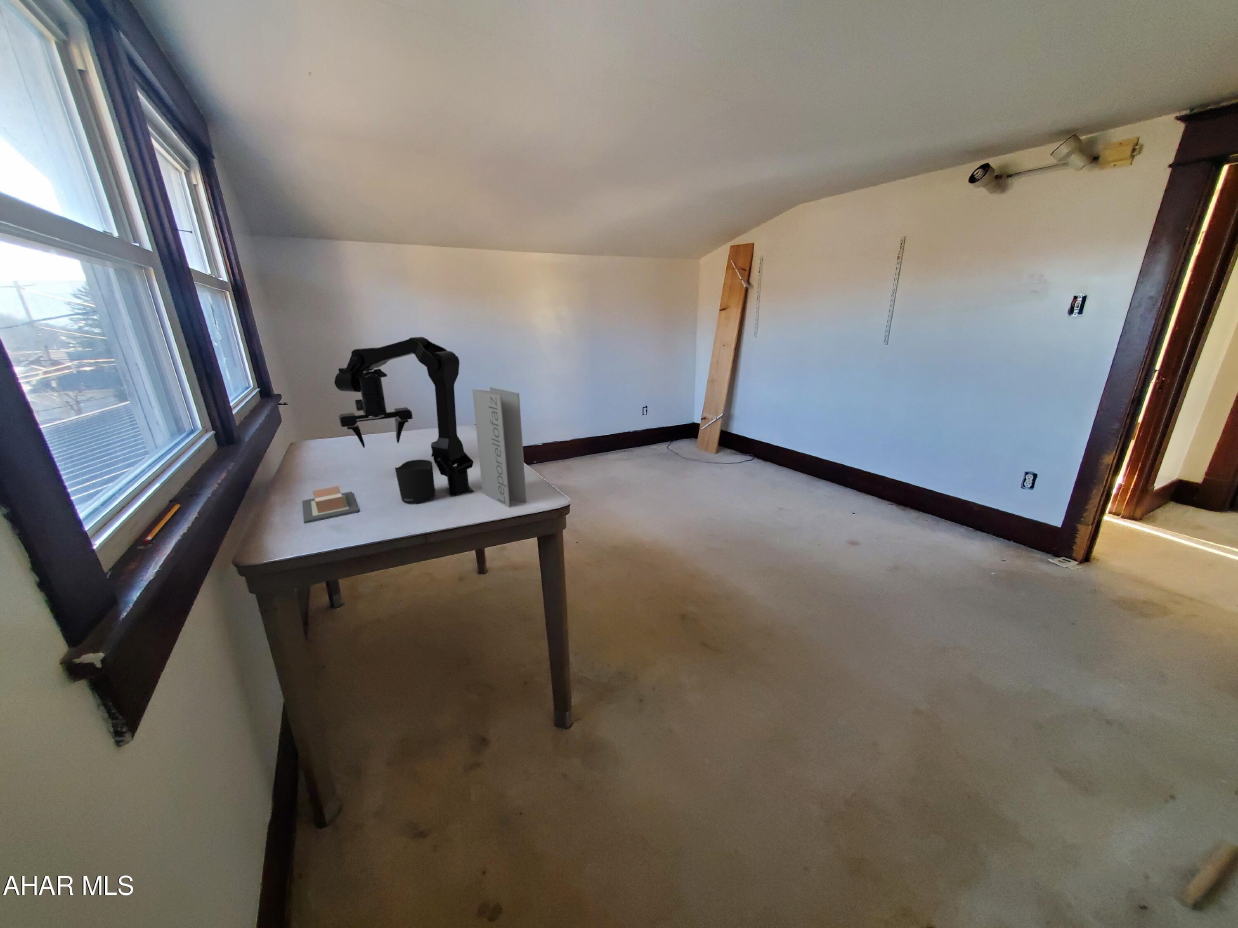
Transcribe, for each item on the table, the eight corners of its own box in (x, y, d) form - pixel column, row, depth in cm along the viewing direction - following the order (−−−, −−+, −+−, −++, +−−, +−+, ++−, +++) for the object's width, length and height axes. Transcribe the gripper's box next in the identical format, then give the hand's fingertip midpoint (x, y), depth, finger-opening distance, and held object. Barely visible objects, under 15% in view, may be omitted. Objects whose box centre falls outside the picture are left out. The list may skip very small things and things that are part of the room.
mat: (358, 512, 120) (358, 509, 120) (304, 523, 114) (303, 520, 113) (352, 493, 133) (351, 491, 132) (302, 502, 126) (302, 500, 126)
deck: (315, 501, 125) (312, 490, 124) (340, 496, 128) (338, 485, 127) (318, 513, 118) (315, 501, 116) (344, 507, 121) (342, 496, 120)
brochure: (482, 493, 132) (472, 389, 123) (499, 488, 136) (490, 387, 127) (509, 507, 123) (499, 396, 113) (526, 501, 126) (519, 393, 117)
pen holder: (396, 497, 129) (390, 464, 126) (430, 489, 135) (425, 457, 132) (406, 508, 123) (400, 472, 119) (441, 499, 128) (437, 465, 125)
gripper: (401, 386, 144) (409, 434, 149) (332, 392, 134) (342, 443, 139) (409, 391, 135) (416, 442, 140) (335, 397, 125) (346, 452, 130)
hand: (381, 444), depth 137 cm, fingers open, 9 cm apart
